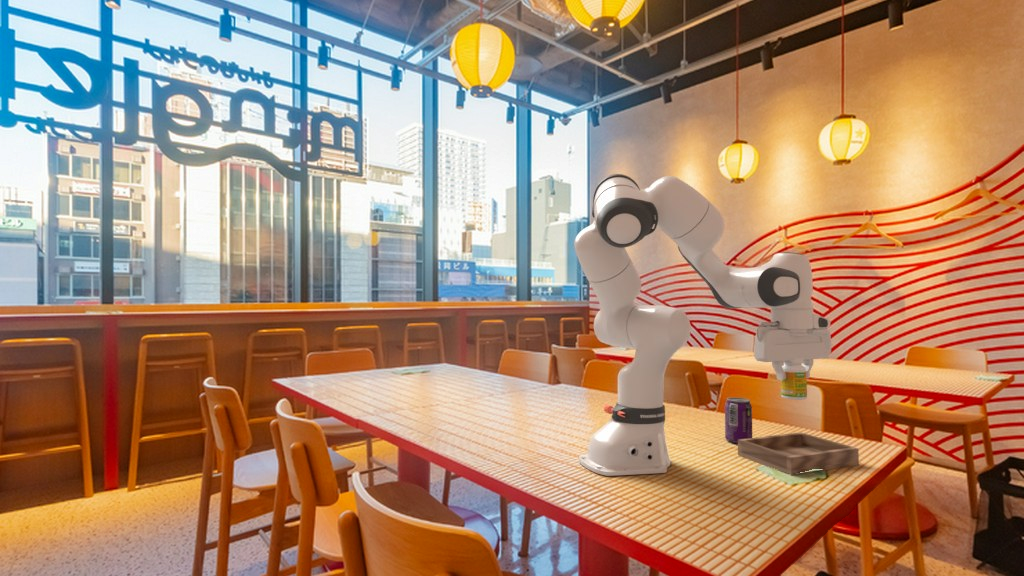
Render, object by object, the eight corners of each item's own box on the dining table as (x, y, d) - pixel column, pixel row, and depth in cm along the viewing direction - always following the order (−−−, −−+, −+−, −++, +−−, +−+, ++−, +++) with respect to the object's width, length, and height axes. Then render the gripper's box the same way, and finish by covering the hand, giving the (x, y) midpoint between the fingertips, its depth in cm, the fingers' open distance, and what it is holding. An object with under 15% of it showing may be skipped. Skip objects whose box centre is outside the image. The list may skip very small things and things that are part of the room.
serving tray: (791, 475, 114) (791, 457, 114) (737, 455, 129) (737, 439, 129) (858, 464, 121) (858, 448, 121) (800, 447, 136) (800, 432, 136)
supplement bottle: (797, 401, 114) (796, 358, 114) (776, 397, 119) (774, 356, 119) (812, 398, 116) (810, 357, 116) (790, 395, 121) (789, 355, 121)
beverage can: (757, 445, 138) (756, 401, 138) (731, 445, 138) (730, 401, 138) (745, 438, 145) (745, 397, 145) (721, 438, 145) (720, 397, 146)
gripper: (767, 322, 112) (769, 384, 111) (835, 320, 118) (837, 378, 118) (746, 321, 118) (747, 379, 117) (812, 319, 124) (813, 374, 124)
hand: (793, 379), depth 118 cm, fingers closed on supplement bottle, 5 cm apart
